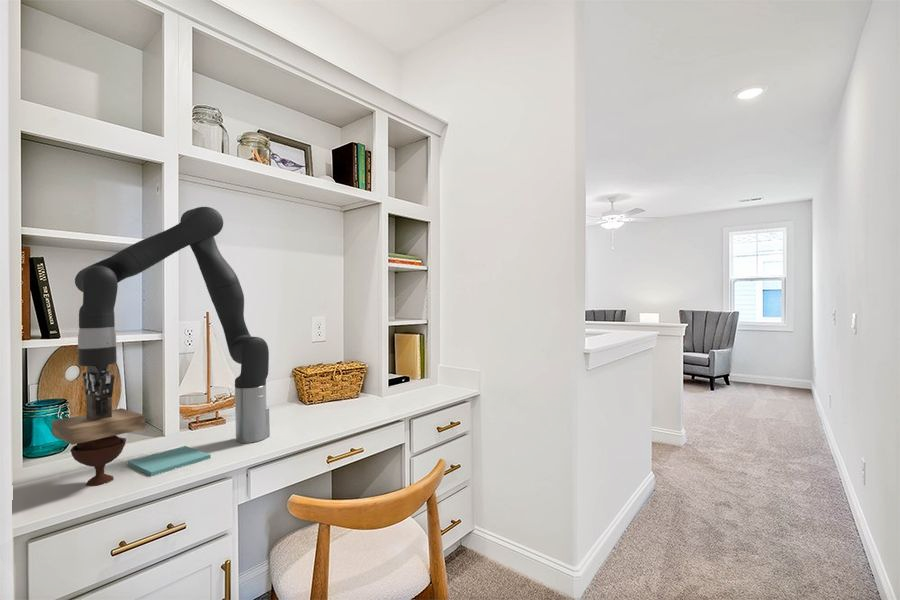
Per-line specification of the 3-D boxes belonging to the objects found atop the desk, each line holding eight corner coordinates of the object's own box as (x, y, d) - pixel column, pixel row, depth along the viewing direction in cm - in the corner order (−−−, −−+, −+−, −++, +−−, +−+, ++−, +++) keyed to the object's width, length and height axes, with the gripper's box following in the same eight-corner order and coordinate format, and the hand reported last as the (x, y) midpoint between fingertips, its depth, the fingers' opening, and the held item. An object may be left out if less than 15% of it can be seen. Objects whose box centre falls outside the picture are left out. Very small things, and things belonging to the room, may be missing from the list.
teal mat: (185, 449, 134) (185, 445, 134) (210, 458, 126) (210, 454, 126) (127, 464, 122) (127, 461, 122) (151, 476, 113) (151, 472, 113)
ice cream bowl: (132, 479, 111) (131, 420, 111) (75, 494, 103) (73, 430, 103) (122, 469, 118) (120, 413, 118) (67, 483, 110) (66, 423, 110)
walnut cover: (121, 421, 121) (121, 386, 121) (144, 428, 112) (144, 391, 112) (52, 434, 109) (51, 396, 109) (72, 444, 100) (71, 403, 100)
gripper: (126, 345, 110) (128, 414, 110) (104, 343, 118) (106, 407, 118) (89, 348, 104) (90, 421, 103) (69, 346, 112) (70, 413, 111)
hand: (98, 413), depth 111 cm, fingers closed on walnut cover, 4 cm apart
